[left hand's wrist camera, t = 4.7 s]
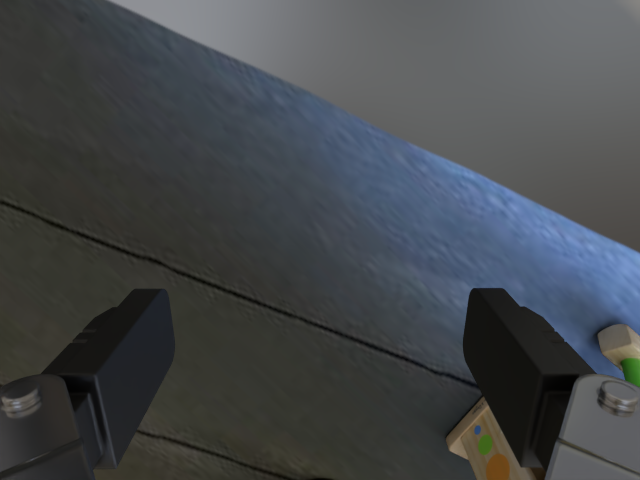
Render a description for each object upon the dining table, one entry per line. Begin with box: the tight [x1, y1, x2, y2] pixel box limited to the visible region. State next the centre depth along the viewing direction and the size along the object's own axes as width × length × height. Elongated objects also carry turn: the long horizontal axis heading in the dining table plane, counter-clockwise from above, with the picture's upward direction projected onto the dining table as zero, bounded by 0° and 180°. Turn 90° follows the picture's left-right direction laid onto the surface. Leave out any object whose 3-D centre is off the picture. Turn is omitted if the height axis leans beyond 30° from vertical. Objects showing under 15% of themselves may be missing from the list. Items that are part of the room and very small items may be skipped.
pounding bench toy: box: [446, 324, 640, 480], centre depth 40 cm, size 23×14×18 cm, turn 149°
